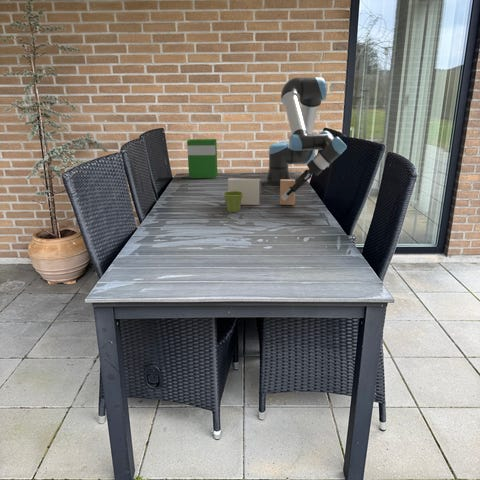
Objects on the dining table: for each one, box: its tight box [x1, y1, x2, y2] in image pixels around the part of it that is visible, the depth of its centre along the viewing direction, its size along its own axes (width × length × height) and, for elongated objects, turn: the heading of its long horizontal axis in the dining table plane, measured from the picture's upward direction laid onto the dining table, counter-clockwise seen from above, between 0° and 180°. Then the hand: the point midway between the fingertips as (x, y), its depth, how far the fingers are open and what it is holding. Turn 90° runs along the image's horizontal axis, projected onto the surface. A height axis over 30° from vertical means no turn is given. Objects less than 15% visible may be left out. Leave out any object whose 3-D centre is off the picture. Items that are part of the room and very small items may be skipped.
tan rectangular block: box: [279, 178, 296, 206], centre depth 220 cm, size 3×7×12 cm, turn 80°
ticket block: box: [227, 177, 262, 206], centre depth 224 cm, size 3×16×12 cm, turn 80°
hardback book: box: [186, 138, 219, 179], centre depth 288 cm, size 18×7×24 cm, turn 86°
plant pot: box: [222, 191, 243, 213], centre depth 212 cm, size 9×9×9 cm
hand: (283, 197), depth 222 cm, fingers open, 6 cm apart
